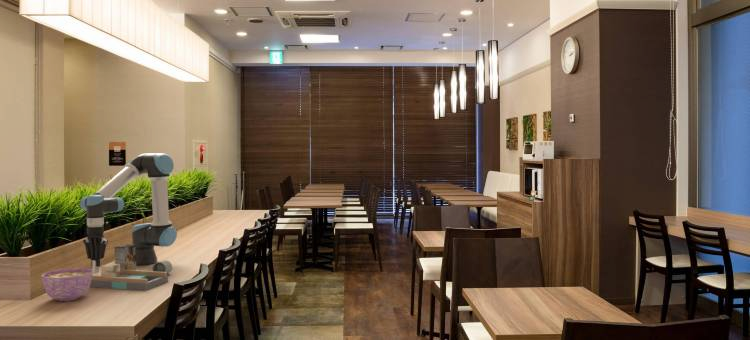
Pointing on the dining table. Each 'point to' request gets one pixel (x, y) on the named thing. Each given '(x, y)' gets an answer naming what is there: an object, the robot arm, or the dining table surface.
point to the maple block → (110, 270)
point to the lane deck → (131, 280)
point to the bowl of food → (67, 283)
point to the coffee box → (126, 256)
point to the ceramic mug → (162, 267)
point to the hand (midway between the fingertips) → (95, 272)
